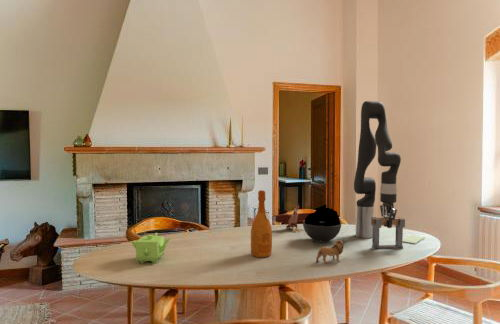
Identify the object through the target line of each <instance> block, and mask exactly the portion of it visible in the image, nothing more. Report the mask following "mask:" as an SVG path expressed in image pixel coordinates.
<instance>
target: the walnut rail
mask: <svg viewBox="0 0 500 324" xmlns="http://www.w3.org/2000/svg"><path fill="white" fill-rule="evenodd" d="M399 217H400V216H399ZM376 219H381V226H384V225H387V218H383V217H377V218H372V224H373V225H376ZM399 219H404V217H400V218H395V220H392V226H396V225H399Z"/></svg>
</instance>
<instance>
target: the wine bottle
mask: <svg viewBox="0 0 500 324" xmlns="http://www.w3.org/2000/svg"><path fill="white" fill-rule="evenodd" d="M257 194H258V195H257V200H258V207H257V211H256V214H255V217H254V219H253V221H252V225H251V227H250V228H251V229H250V254H251V255H252V256H253V257H255V258H268V257H270V256H271V255H272V253H273V252H272V251H273V249H272V248H273V230H272V229H273V228H272V225H271V222H270V219H271V218H270V215H269V212H267V210H266V204H265V201H266V190H262V189H261V190H258V193H257Z"/></svg>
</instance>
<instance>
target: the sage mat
mask: <svg viewBox="0 0 500 324" xmlns="http://www.w3.org/2000/svg"><path fill="white" fill-rule="evenodd" d="M424 239H425V236H419V235H413V234H409V235H406V236H405V237H403V239H402V243H404V244H409V245H410V244H412V245H417V244H419V243H420V242H421V241H422V240H424Z"/></svg>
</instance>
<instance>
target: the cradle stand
mask: <svg viewBox="0 0 500 324" xmlns="http://www.w3.org/2000/svg"><path fill="white" fill-rule="evenodd" d="M372 218H378V217H377V216H374V217H371V225H372V226H373V237H372V238H371V239H372V241H371V242H372V245H371V249H373V250H387V249H388V250H389V249H390V250H392V249H395V250H396V249H398V250H399V249H404V246H403V242H402V239H403V238H404V237H403V235H404V234H403V230H404V229H403V228H405V227H406V219H405V218H403V219H399V225H395V244H380V229H381V228H382V225H381V219H376V225H373V224H372ZM395 218H400V216H395Z"/></svg>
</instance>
